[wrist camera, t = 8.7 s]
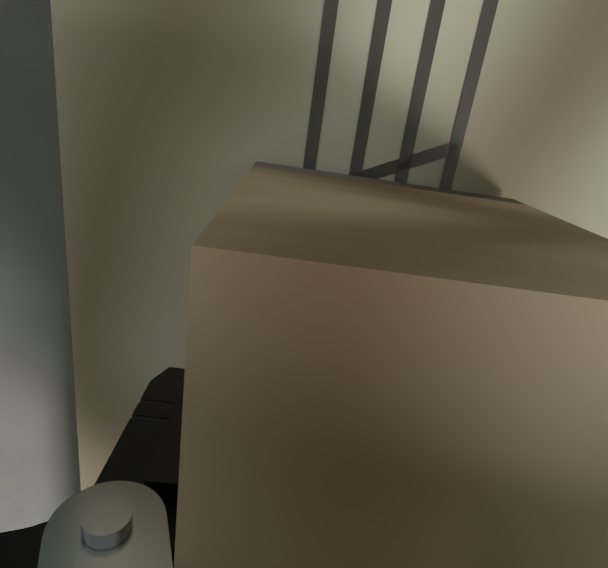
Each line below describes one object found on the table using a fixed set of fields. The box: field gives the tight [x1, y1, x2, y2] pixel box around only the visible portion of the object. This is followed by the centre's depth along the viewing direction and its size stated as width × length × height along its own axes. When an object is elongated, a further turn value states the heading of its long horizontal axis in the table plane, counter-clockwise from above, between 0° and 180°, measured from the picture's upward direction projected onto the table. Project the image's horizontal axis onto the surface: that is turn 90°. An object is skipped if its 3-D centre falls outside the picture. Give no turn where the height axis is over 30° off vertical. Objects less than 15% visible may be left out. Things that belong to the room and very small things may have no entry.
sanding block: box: [174, 161, 608, 568], centre depth 8 cm, size 5×9×6 cm, turn 172°
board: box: [50, 0, 608, 491], centre depth 10 cm, size 18×23×1 cm
